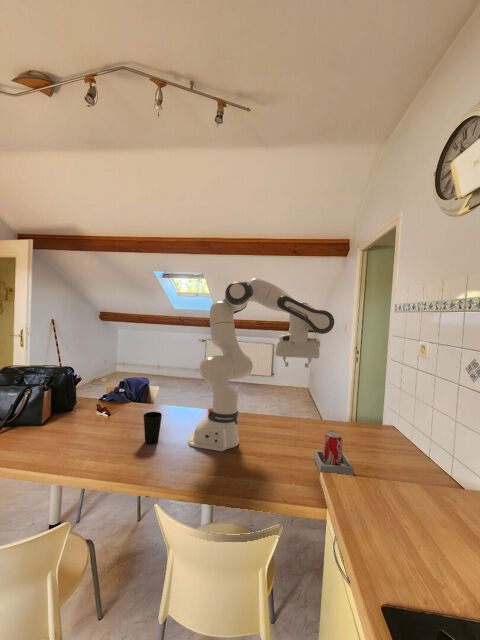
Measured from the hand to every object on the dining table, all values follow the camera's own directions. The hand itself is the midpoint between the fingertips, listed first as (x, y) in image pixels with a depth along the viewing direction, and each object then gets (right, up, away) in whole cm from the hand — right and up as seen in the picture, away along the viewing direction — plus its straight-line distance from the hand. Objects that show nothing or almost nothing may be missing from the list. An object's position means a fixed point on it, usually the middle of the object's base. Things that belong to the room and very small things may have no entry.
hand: (296, 366), depth 137 cm
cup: (-65, -31, -10) cm, 73 cm away
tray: (+9, -35, -24) cm, 44 cm away
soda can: (+9, -35, -23) cm, 43 cm away
